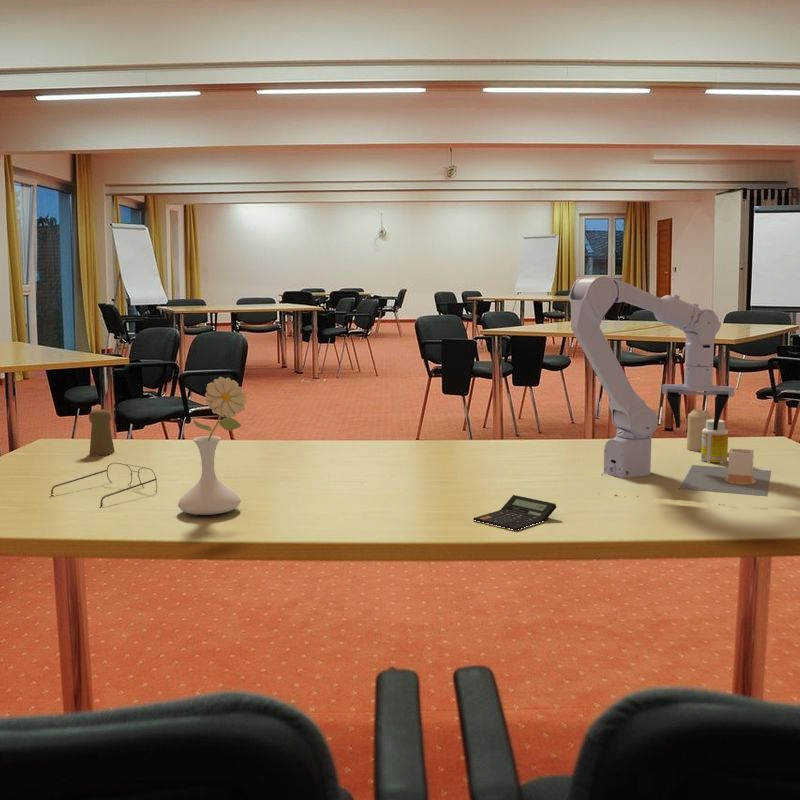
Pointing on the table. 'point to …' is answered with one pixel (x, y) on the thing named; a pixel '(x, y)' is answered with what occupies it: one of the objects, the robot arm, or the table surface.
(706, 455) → the supplement bottle
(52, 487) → the eyeglasses
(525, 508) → the calculator
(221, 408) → the flower in vase
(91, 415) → the brown tapered column
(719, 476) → the pin board
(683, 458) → the table surface
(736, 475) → the sleeve
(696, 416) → the beige bottle
